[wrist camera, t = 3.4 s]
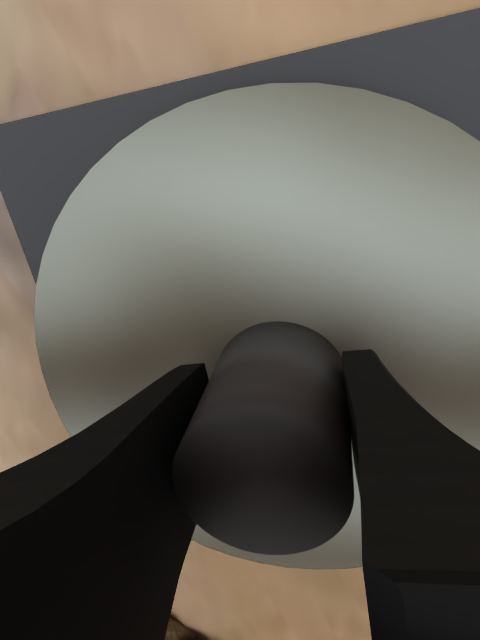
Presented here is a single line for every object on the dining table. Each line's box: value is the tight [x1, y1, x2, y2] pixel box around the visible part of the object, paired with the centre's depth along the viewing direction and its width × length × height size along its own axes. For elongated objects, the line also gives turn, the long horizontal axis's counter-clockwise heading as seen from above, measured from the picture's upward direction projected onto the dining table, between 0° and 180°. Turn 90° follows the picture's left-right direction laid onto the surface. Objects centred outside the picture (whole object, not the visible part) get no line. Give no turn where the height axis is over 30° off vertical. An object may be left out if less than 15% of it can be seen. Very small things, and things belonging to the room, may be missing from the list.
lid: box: [34, 83, 480, 569], centre depth 10 cm, size 13×13×4 cm
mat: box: [0, 8, 480, 283], centre depth 13 cm, size 14×14×1 cm
